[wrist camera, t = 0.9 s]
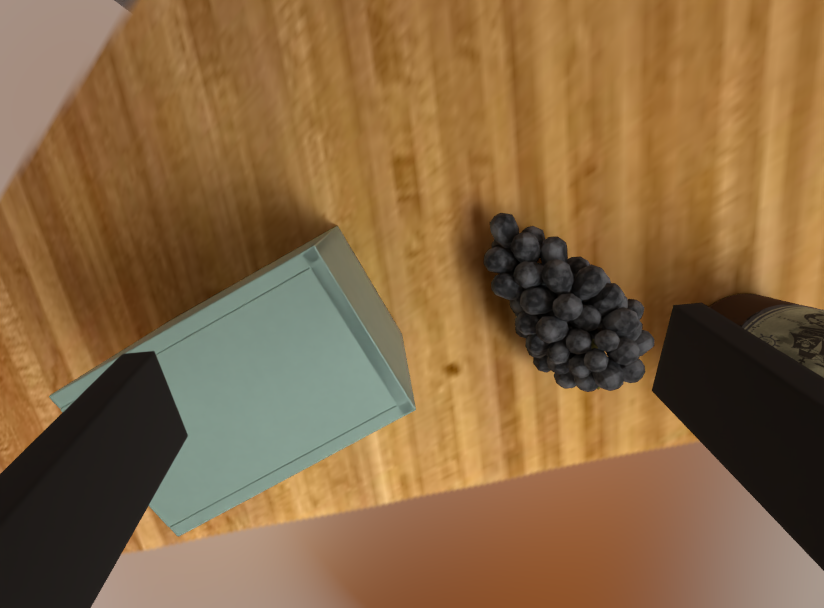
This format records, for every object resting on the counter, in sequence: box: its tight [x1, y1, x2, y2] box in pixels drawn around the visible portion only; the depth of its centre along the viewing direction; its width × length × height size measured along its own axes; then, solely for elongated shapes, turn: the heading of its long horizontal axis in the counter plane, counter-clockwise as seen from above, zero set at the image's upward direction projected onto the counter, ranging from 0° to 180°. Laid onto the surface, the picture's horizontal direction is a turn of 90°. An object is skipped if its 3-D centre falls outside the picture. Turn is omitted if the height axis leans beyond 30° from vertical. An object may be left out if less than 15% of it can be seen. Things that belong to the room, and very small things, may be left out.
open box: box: [49, 226, 416, 536], centre depth 27 cm, size 15×10×12 cm, turn 119°
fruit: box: [484, 213, 654, 392], centre depth 29 cm, size 9×8×15 cm
